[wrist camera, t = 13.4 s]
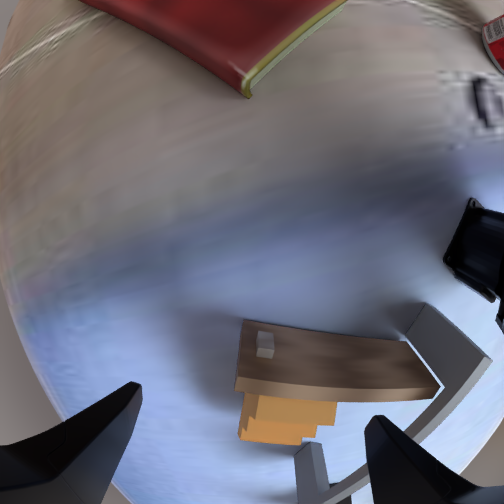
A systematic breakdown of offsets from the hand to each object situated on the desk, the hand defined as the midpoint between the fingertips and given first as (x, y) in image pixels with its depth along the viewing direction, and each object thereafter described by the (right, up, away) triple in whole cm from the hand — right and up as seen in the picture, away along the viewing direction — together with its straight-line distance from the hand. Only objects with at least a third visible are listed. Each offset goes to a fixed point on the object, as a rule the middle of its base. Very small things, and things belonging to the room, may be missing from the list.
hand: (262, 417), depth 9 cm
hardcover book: (-5, +27, +6) cm, 28 cm away
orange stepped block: (+2, -5, +10) cm, 12 cm away
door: (+6, -1, +12) cm, 14 cm away
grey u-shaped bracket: (+10, -9, +15) cm, 20 cm away
